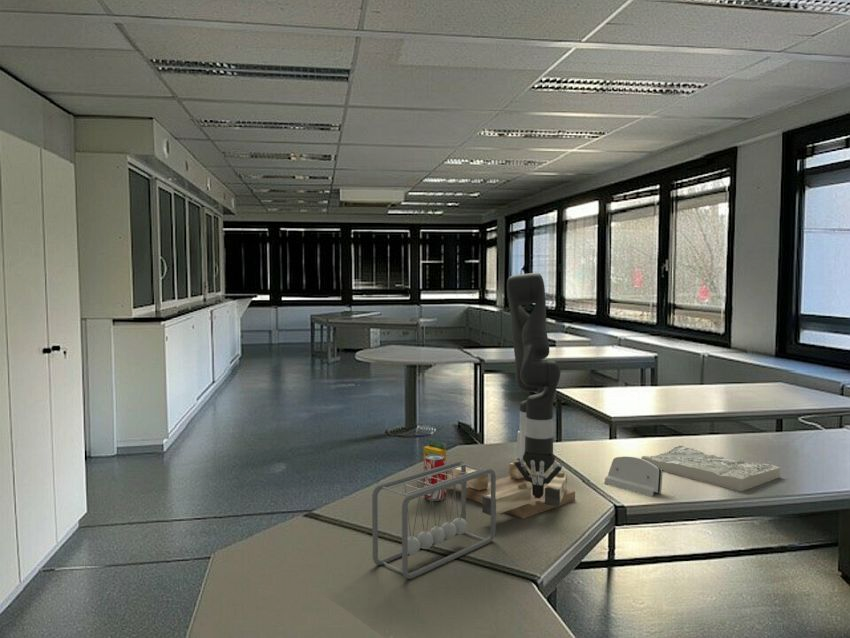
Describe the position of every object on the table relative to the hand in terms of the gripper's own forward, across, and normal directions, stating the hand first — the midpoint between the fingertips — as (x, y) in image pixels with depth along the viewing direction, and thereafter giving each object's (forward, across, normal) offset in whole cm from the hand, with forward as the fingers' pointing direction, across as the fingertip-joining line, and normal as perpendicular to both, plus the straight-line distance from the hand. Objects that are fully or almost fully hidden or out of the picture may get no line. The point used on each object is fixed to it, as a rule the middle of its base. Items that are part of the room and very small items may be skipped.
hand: (538, 497), depth 170 cm
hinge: (+4, +24, +29) cm, 38 cm away
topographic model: (+4, +46, +55) cm, 72 cm away
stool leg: (+1, +4, +5) cm, 6 cm away
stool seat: (+4, -11, +10) cm, 15 cm away
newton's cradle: (+4, -17, -35) cm, 39 cm away
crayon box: (+4, -36, +17) cm, 40 cm away
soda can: (+4, -29, 0) cm, 30 cm away
